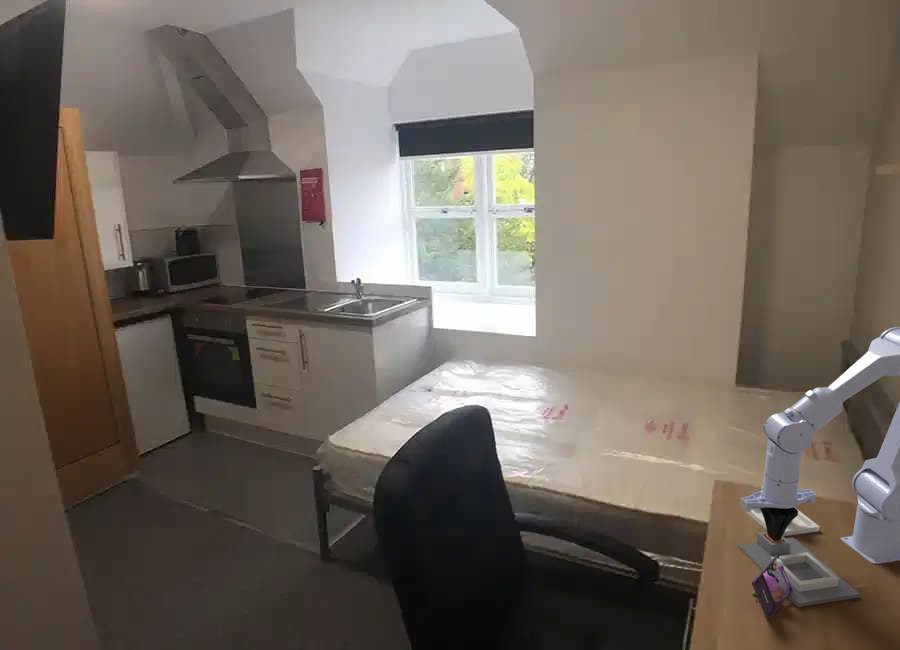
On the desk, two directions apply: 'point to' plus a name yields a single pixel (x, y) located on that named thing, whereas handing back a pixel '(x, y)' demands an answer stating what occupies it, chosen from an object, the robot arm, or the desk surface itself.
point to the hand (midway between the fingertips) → (773, 537)
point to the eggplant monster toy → (770, 587)
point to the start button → (773, 540)
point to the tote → (796, 527)
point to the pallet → (800, 571)
